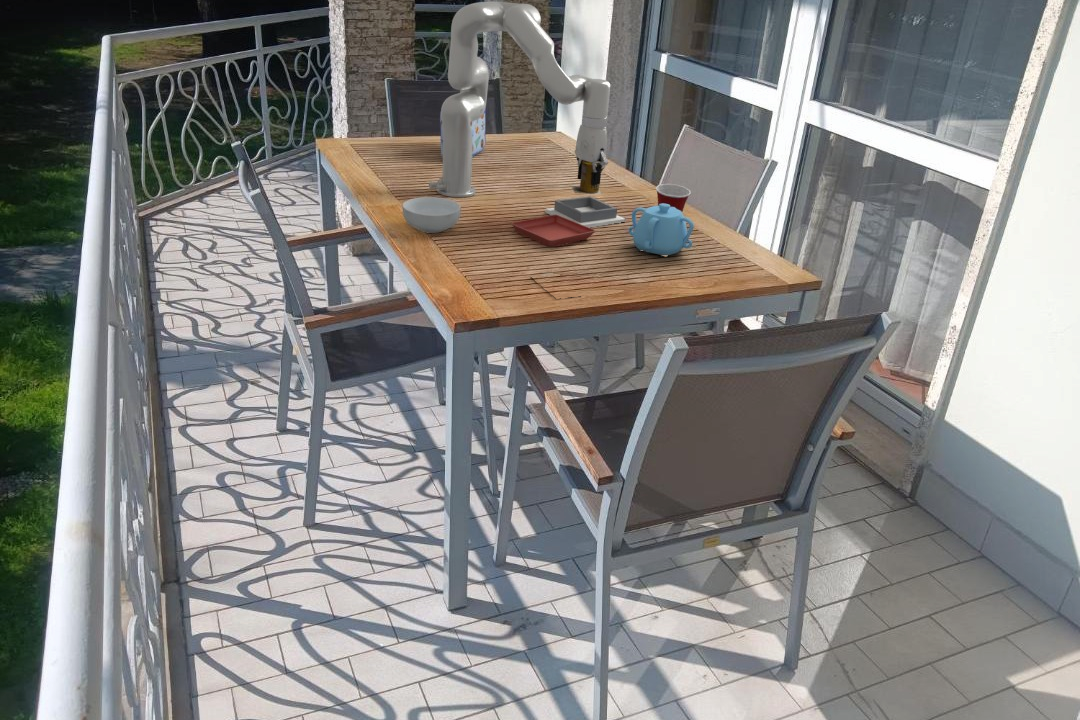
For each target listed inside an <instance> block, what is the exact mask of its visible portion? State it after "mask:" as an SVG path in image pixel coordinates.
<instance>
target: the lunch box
mask: <svg viewBox="0 0 1080 720" xmlns="http://www.w3.org/2000/svg"><path fill="white" fill-rule="evenodd" d="M486 113H487V108H485V111H484V114H483V115H482V116H481V117H480V118H479V119H477V120H475V121H472V122H470V125H471V130H472V136H473V145H472V158H473V157H474V156H476V155H477V154H479V153H481V152H482V151H484V149H485V146H486V141H487V140H486V136H487V135H486V118H487V117H486V116H487V114H486ZM439 131H440V156H441V158H442V159H443V124H442V117H441V111H440V113H439Z"/></svg>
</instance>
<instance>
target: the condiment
mask: <svg viewBox="0 0 1080 720" xmlns="http://www.w3.org/2000/svg"><path fill="white" fill-rule="evenodd" d="M597 161H599V159H598V160H597ZM598 165H599V164H596V166H598ZM592 172H594V171H593V165H592V163H590V162H587V161H585V160H583V161H582V171H581V179H580V182H579V183H580V185H579V186H576V185H571V189H572V190H573V192H574V194H586V195H587V194H589V195H602V194H603V192H601V190H600V184H601V183H600V184H598V185H591V175H592Z"/></svg>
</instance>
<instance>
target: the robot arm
mask: <svg viewBox="0 0 1080 720" xmlns="http://www.w3.org/2000/svg"><path fill="white" fill-rule="evenodd" d="M541 18H542V17H541V15H540V12H539V9H537V8H536V7H535V6H533V5H532V4H530V3H529V4H528V3H518V2H517V3H516V2H515V3H514V2H505V1H495V0H493V1H479V2H474V3H470V4H467V5H465V6H463V7H461V8H460V9H458V11H457V12H456V13H455V14H454V16H453V18H452V21H451V22H452V23H451V27H450V28H451V29H450V32H451V33H450V47H449V56H448V70H447V79H448V80H447V81H448V83H449V86H450V87H452V89H454V90H457V91H459V92H458V93H455V94H452V95H450V96H449V97H447V98H446V99H445V100H444V101H443V103H442V105H441V108H440V109H441V110H440V112H441V117H442V124H443V158H442V177H439V178H438V179H439V180H437V181H430V182H428V188H429V189H436V190H437V193H438V194H440V195H443V196H445V197H450V198H451V197H452V198H467V197H471V196H472V197H473V196H474V195H476V189H475V187H473V186H472V173H473V171H472V167H473V164H472V163H473V157H472V145H473V136H472V130H471V125H470V122H472V121H475V120H477V119H479V118H480V117H481V116H482V115H483V114H484V111H485V108H486V107H487V100H488V99H487V98H488V89H489V80H490V79H489V78H490V73H489V68H488V65H487V63H486V61H485V60H483V58H481V57H479V56H478V51H479V43H478V42H479V41H478V34H481V33H482V34H483V33H490V32H506V33H507V34H509V36H510V37H511V38H512V39H513V40H514V42H515V43H516V44H517V45H518V47H520V49H521V50H522V51H523V53H524V54H525V55H526V56H527V57H528V59H529V60H530V61H531V63H532V66H533V68H534V72H535V74H536V76H537V78H538V80H539V81H540V83H541V84H542V86H543V87H544V89H546V91H547V92H548V93H549V94H550V96H551V97H552V98H553V99H554V100H555V101H556V102H558V103H559V104H561V105H564V106H565V105H572V104H574V103H576V102H577V103H578V102H582V101H583V103H582V104H583V105H582V114H581V124H580V125H579V128H578V131H577V136H576V143H575V150H574V154H575V158H576V161H577V166H578V169H577V170H578V171H577V180H581V171H582V161H583V160H585V161H587V162H590V163H592V165H593V171H594V172H592V175H591V185H598V184H601V176H602V172H603V171H604V169H605V168H606V166H608V164H609V161H608V159H607V147H608V133H607V125H608V113H609V105H610V93H611V83H610V82H609V81H608V80H605V79H601V78H589V77H587V76H584V75H580V74H573V75H567V74H566V73H565V72H564V71H563V68H561V66H560V65H559V63H558V62H557V60H556V58H555V53H554V52H555V42H554V41H553V40H552V38H551V37H550V35H549V34H548V33H547V32H546V31H545V30H544V29H543V27H542V26H541V21H542V19H541ZM486 109H487V108H486ZM598 159H599V161H597V160H598ZM596 164H599V165H598V166H596Z"/></svg>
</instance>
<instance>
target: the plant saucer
mask: <svg viewBox="0 0 1080 720" xmlns="http://www.w3.org/2000/svg"><path fill="white" fill-rule="evenodd" d="M511 225H512V227H513V228H514V229H515V231H516V232H517V233H518V234H520V235H522V236H524V237H527V238H528V237H529V239H530V240H533V241H535V242H537V243H540V244H541V245H545V246H546V247H548V246H549V247H548V248H553V247H554V246H555V247H558V245H559V246H562V244H564V245H567V244H566V243H568V244H572V243H571V242H573V243H577V242H580V240H582V241H585V240H584V239H586V240H587V239H589V238H590V237H591V236H592V235H593V234H595V232H596V230H595V229H594V228H589V227H586V226H584V225H581V224H579V223H576V222H574V221H571V220H569V219H566V218H564V217H561V216H559V215H546V216H541V217H536V218H530V219H525V220H524V219H523V220H518V221H514V222H511ZM576 241H577V242H576ZM555 247H554V248H555Z"/></svg>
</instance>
